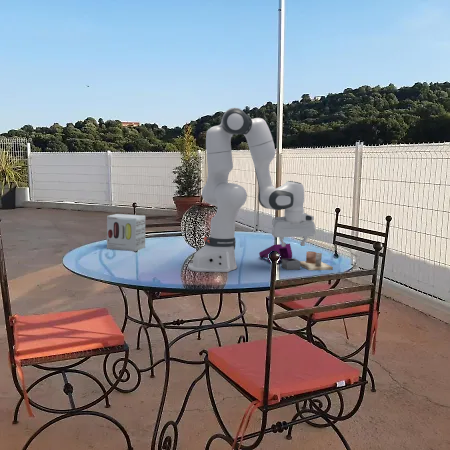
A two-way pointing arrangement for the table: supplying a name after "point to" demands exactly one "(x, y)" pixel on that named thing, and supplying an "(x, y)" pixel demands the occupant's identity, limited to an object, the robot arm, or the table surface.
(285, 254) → the mounting bracket
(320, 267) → the post board
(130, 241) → the supplement box
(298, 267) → the collar
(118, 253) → the table surface
